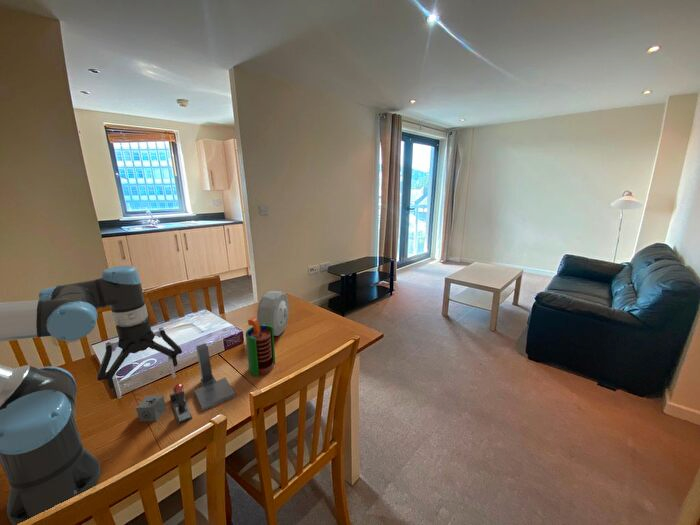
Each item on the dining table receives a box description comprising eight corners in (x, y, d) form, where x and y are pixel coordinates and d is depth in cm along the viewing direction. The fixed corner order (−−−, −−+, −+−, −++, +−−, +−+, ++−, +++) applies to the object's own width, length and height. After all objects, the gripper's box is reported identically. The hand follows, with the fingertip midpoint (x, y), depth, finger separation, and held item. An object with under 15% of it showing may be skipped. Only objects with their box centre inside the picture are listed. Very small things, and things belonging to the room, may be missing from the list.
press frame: (178, 424, 86) (170, 384, 82) (168, 394, 98) (161, 357, 95) (236, 398, 96) (231, 361, 93) (220, 373, 109) (215, 339, 105)
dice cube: (156, 421, 87) (153, 407, 86) (139, 421, 87) (135, 407, 86) (166, 408, 92) (163, 395, 91) (150, 408, 92) (147, 395, 91)
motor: (266, 378, 106) (261, 328, 101) (243, 375, 108) (238, 325, 102) (278, 361, 116) (274, 315, 110) (257, 358, 117) (252, 313, 112)
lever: (179, 421, 86) (173, 390, 83) (176, 413, 89) (170, 383, 86) (190, 416, 88) (185, 385, 85) (187, 409, 91) (182, 378, 88)
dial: (280, 345, 127) (276, 302, 121) (254, 343, 129) (250, 300, 123) (295, 323, 146) (293, 285, 141) (273, 321, 148) (270, 284, 143)
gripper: (70, 342, 71) (93, 413, 77) (185, 312, 87) (196, 373, 93) (72, 330, 77) (93, 397, 83) (179, 304, 92) (190, 362, 98)
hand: (147, 385), depth 88 cm, fingers open, 13 cm apart
